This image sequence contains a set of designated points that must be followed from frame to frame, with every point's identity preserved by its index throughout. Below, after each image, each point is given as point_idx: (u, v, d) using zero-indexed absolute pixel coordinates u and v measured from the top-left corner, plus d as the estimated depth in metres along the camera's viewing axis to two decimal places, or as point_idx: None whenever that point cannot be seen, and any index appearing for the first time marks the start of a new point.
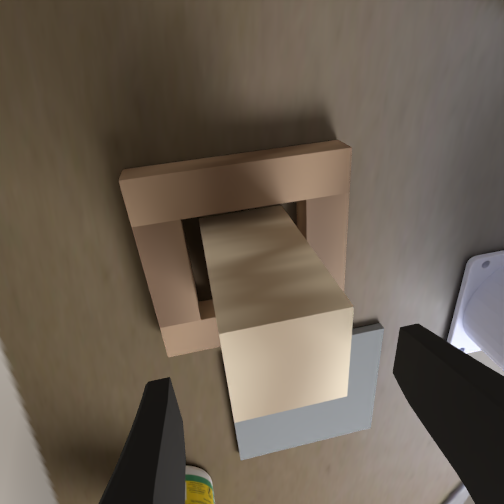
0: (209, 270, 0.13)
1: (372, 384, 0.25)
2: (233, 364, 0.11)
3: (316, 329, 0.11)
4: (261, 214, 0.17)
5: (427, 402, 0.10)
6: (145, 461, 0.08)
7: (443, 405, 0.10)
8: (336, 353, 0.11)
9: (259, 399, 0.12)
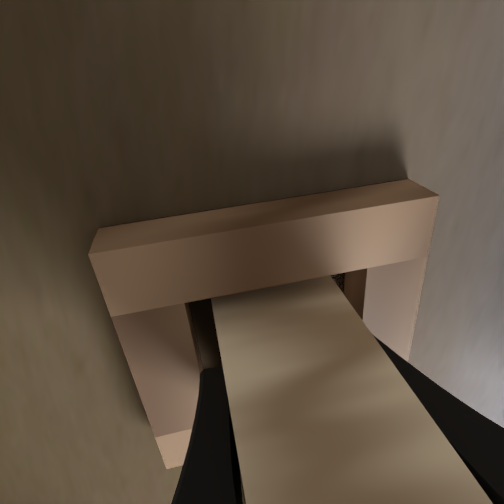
0: (232, 408, 0.08)
1: None
2: None
3: None
4: (299, 284, 0.12)
5: None
6: (217, 444, 0.08)
7: None
8: None
9: None
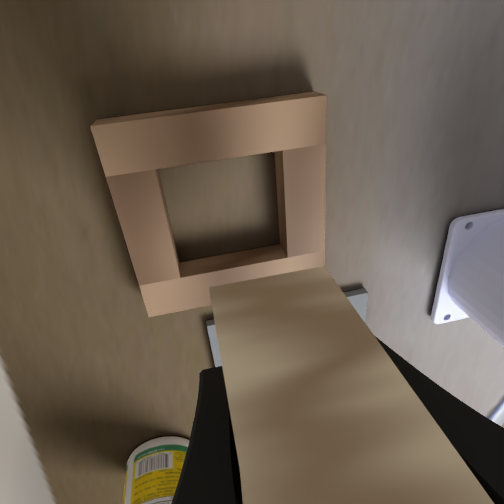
0: (231, 406, 0.08)
1: None
2: None
3: None
4: (299, 283, 0.12)
5: None
6: (217, 444, 0.08)
7: None
8: None
9: None
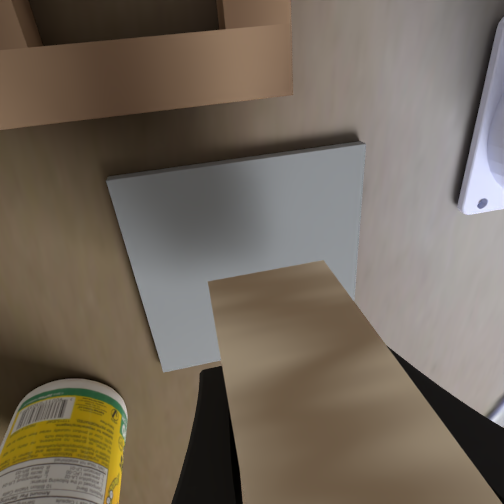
0: (230, 398, 0.08)
1: (351, 254, 0.17)
2: None
3: None
4: (298, 277, 0.12)
5: None
6: (217, 444, 0.08)
7: None
8: None
9: None
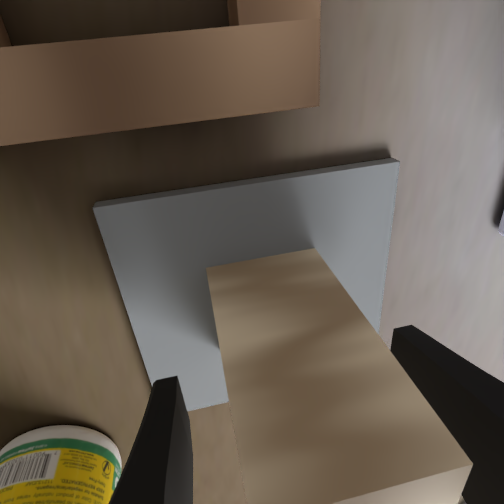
0: (225, 368, 0.09)
1: (377, 284, 0.15)
2: None
3: (408, 497, 0.06)
4: (291, 263, 0.12)
5: None
6: (155, 458, 0.08)
7: (436, 407, 0.10)
8: None
9: None
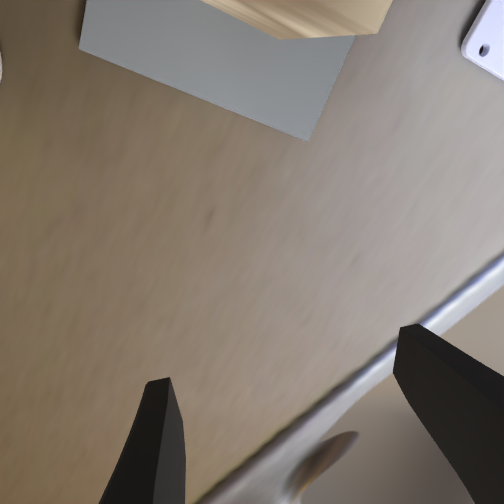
0: None
1: None
2: None
3: None
4: None
5: (427, 402, 0.10)
6: (145, 461, 0.08)
7: (443, 405, 0.10)
8: None
9: None
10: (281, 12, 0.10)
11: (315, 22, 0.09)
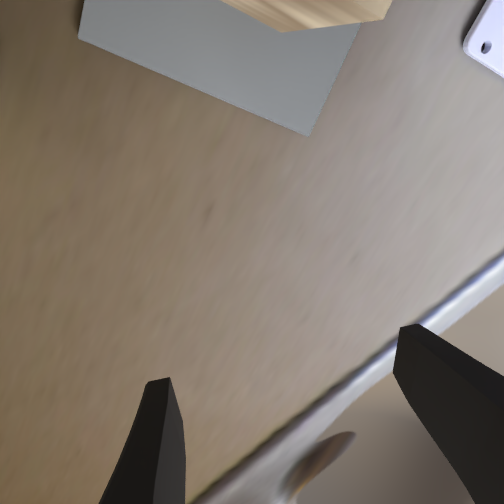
0: None
1: None
2: None
3: None
4: None
5: (427, 402, 0.10)
6: (145, 461, 0.08)
7: (443, 405, 0.10)
8: None
9: None
10: (285, 0, 0.10)
11: (319, 10, 0.09)
